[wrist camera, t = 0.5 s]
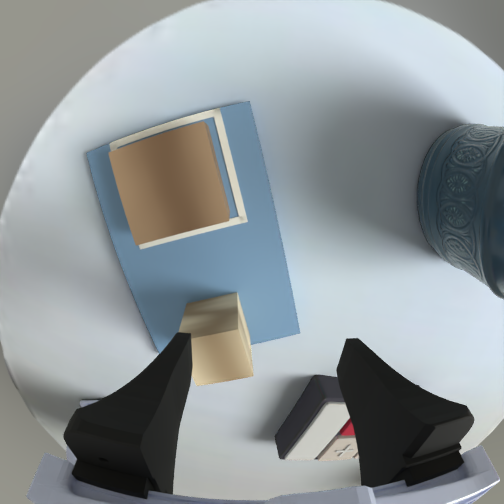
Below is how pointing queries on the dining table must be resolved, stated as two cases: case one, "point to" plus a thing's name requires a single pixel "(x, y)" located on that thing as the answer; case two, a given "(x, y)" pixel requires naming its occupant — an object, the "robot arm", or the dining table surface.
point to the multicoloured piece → (318, 425)
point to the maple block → (218, 339)
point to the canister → (466, 201)
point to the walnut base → (170, 183)
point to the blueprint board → (208, 238)
